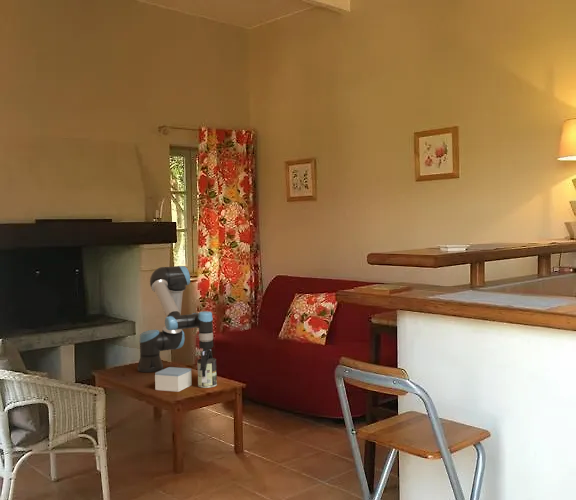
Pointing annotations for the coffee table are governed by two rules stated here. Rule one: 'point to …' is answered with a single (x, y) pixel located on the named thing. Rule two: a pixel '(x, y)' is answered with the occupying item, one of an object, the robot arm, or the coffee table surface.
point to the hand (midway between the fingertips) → (207, 379)
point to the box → (173, 382)
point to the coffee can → (208, 374)
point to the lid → (173, 371)
